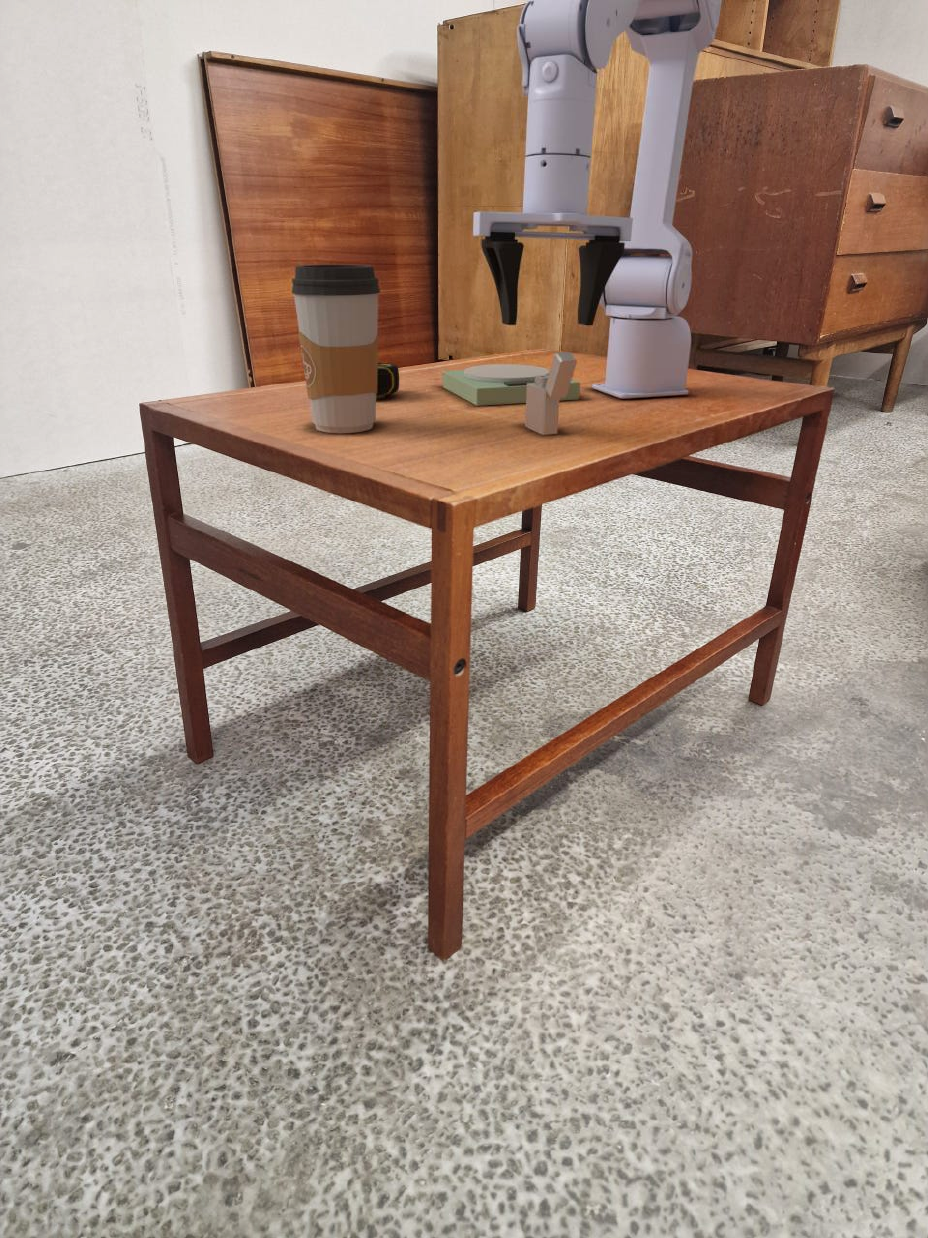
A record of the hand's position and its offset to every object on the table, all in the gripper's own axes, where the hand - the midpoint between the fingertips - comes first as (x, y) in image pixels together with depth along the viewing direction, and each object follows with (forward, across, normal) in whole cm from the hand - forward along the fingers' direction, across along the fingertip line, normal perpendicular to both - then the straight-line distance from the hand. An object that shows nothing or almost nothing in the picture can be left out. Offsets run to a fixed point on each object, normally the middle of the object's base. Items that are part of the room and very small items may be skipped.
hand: (547, 324), depth 75 cm
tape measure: (+10, -13, +24) cm, 29 cm away
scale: (+10, +4, +22) cm, 24 cm away
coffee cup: (+11, -18, +8) cm, 23 cm away
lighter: (+10, +1, 0) cm, 10 cm away
